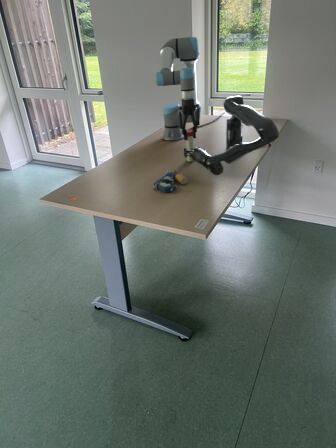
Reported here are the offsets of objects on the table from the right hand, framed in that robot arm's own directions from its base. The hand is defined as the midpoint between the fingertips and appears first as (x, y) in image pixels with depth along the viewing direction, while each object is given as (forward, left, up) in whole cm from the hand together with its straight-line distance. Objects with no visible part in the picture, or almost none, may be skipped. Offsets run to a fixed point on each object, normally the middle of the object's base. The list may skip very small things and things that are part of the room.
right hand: (188, 148), depth 205 cm
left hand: (0, +3, +7) cm, 7 cm away
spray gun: (+24, +30, -7) cm, 39 cm away
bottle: (0, +3, -7) cm, 7 cm away
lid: (0, +3, +11) cm, 12 cm away
